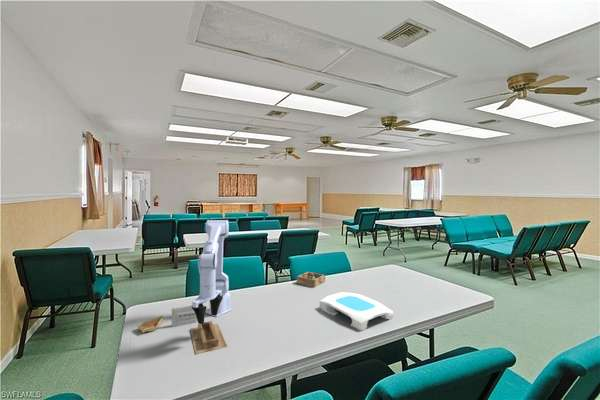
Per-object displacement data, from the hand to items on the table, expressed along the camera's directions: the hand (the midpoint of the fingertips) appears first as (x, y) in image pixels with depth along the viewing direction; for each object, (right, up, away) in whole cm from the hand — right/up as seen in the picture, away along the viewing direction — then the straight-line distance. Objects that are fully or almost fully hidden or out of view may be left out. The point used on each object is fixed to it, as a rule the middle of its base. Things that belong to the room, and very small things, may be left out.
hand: (207, 318), depth 109 cm
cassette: (-13, -8, +12) cm, 20 cm away
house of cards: (+45, -7, +70) cm, 83 cm away
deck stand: (+43, -7, +68) cm, 80 cm away
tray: (0, -8, 0) cm, 8 cm away
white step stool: (+62, -8, +22) cm, 66 cm away
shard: (-29, -8, +13) cm, 33 cm away
